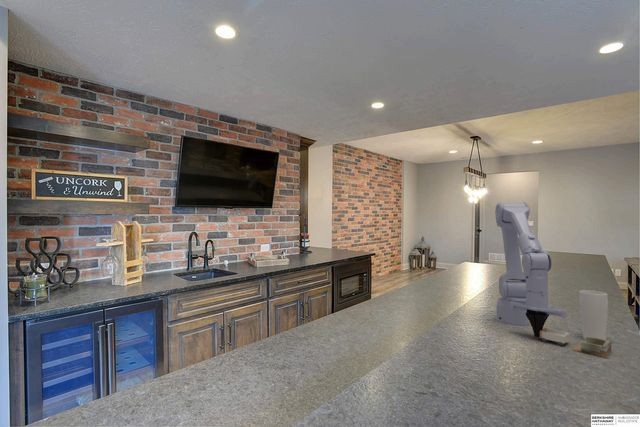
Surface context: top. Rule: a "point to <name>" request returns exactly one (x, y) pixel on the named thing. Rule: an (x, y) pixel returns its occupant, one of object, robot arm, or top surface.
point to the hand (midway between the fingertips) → (537, 336)
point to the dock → (594, 347)
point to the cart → (554, 336)
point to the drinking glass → (593, 313)
